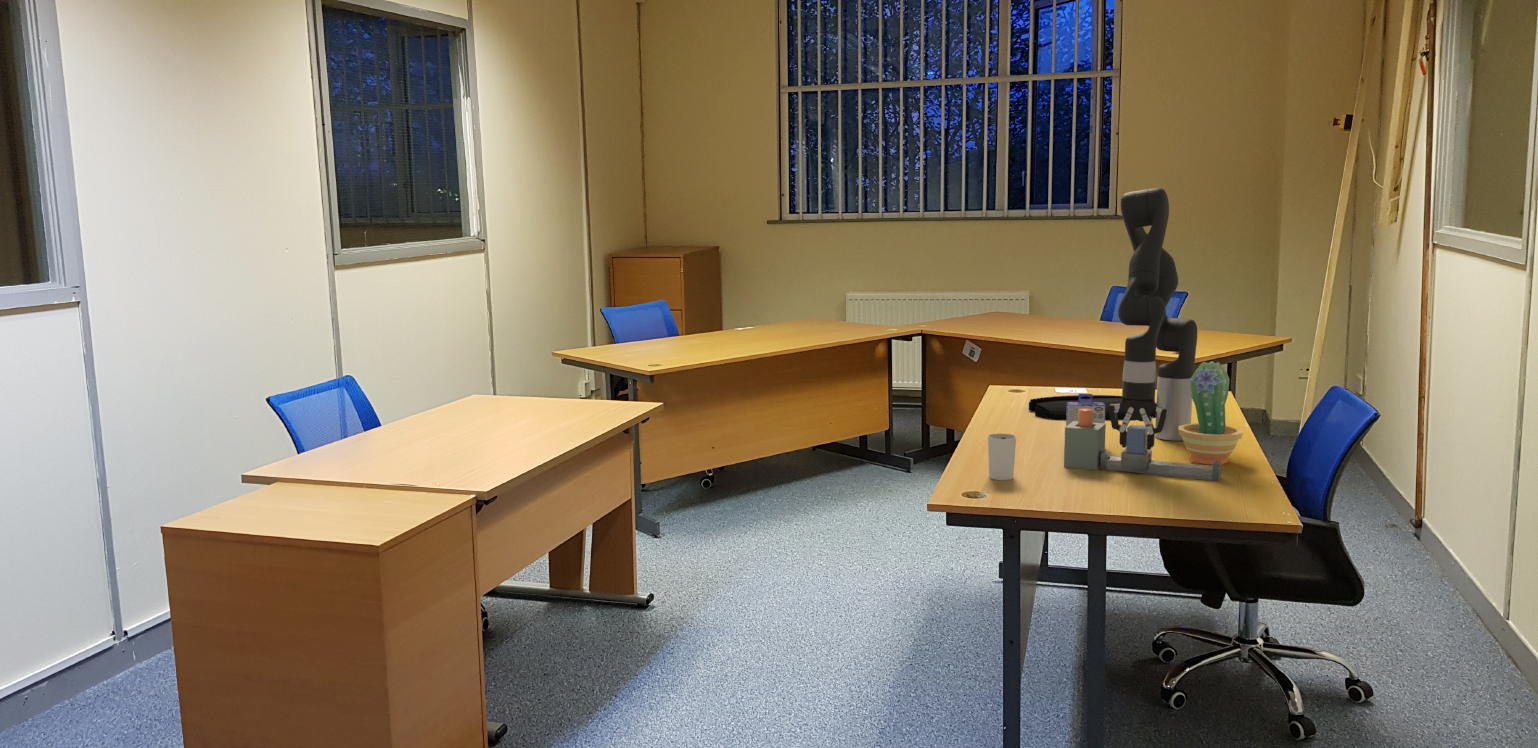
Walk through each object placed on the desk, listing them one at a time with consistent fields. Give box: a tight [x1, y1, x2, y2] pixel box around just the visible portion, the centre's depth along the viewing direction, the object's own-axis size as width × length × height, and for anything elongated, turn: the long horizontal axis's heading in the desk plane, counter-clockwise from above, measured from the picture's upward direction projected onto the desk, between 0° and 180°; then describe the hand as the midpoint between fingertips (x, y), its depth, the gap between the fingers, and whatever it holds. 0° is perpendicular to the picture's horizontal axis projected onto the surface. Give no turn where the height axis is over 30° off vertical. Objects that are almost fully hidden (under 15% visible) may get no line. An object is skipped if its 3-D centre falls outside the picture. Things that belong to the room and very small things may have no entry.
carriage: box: [1120, 424, 1153, 472], centre depth 257 cm, size 7×6×10 cm
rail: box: [1099, 449, 1222, 482], centre depth 255 cm, size 4×27×4 cm, turn 61°
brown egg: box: [1078, 409, 1094, 428], centre depth 263 cm, size 4×4×6 cm
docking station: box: [1028, 394, 1156, 421], centre depth 332 cm, size 25×41×5 cm, turn 89°
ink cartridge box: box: [1065, 393, 1106, 427], centre depth 282 cm, size 10×6×14 cm, turn 78°
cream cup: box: [987, 432, 1017, 481], centre depth 253 cm, size 7×7×10 cm
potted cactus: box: [1178, 361, 1244, 465], centre depth 266 cm, size 15×15×25 cm
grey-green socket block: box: [1063, 421, 1107, 471], centre depth 264 cm, size 9×8×10 cm
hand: (1136, 447), depth 257 cm, fingers open, 5 cm apart
